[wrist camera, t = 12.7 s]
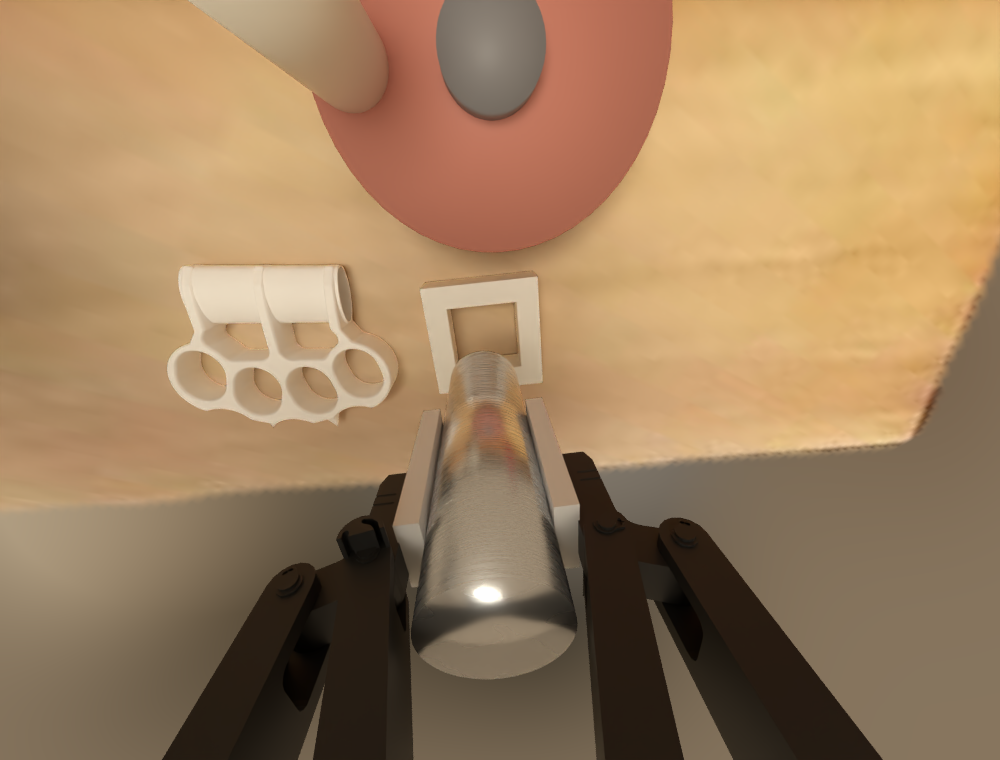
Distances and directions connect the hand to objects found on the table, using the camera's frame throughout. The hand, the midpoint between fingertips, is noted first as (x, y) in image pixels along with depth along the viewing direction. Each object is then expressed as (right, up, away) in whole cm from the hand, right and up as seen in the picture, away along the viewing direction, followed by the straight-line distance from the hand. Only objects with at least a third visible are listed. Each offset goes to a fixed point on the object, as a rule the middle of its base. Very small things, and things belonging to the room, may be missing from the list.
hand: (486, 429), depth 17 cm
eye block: (-1, +7, +15) cm, 16 cm away
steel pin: (0, +2, +5) cm, 5 cm away
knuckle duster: (-18, +5, +15) cm, 24 cm away
